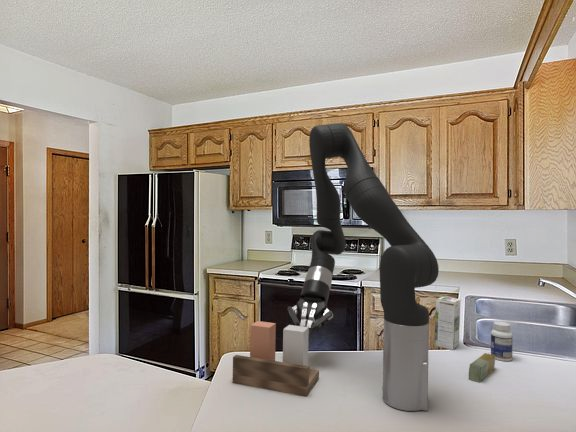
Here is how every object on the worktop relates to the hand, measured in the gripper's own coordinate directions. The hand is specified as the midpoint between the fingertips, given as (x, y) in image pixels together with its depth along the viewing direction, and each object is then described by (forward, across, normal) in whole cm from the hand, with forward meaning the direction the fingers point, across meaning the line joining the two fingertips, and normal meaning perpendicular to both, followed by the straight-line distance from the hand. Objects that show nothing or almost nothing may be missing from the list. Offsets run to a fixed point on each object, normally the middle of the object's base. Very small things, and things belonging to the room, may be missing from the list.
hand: (302, 343), depth 97 cm
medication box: (-6, +42, +16) cm, 46 cm away
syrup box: (-20, +35, +30) cm, 50 cm away
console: (+10, -4, 0) cm, 11 cm away
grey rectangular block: (+7, 0, 0) cm, 7 cm away
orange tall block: (+7, -8, 0) cm, 11 cm away
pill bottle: (-16, +49, +27) cm, 58 cm away
